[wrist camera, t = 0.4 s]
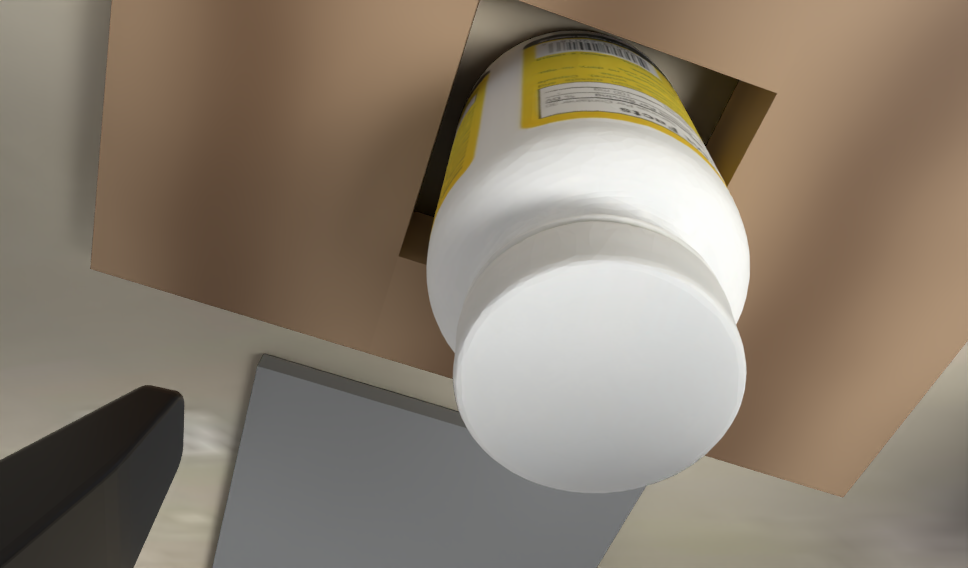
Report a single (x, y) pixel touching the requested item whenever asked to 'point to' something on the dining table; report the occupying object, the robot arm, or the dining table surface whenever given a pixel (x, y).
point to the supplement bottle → (588, 270)
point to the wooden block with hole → (406, 233)
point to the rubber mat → (390, 487)
